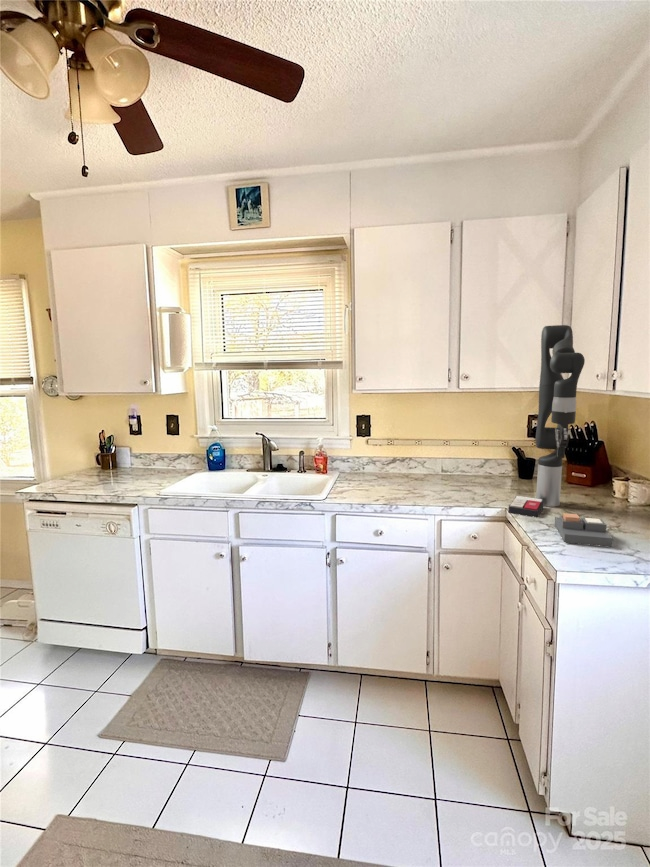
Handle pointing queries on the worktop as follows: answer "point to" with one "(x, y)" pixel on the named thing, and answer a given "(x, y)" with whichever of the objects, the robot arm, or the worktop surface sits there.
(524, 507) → the calculator
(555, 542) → the worktop surface
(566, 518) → the peach key
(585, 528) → the push button base
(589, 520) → the cream key
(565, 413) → the robot arm
